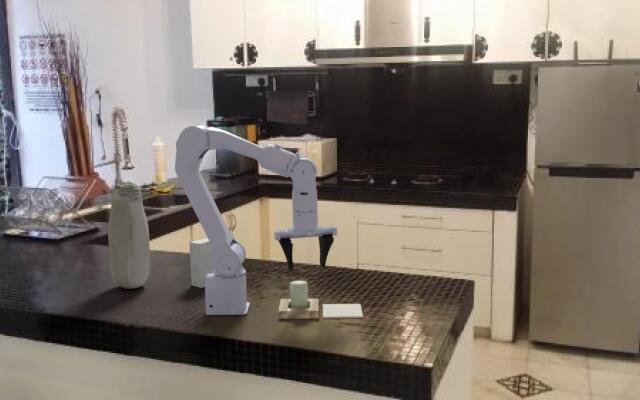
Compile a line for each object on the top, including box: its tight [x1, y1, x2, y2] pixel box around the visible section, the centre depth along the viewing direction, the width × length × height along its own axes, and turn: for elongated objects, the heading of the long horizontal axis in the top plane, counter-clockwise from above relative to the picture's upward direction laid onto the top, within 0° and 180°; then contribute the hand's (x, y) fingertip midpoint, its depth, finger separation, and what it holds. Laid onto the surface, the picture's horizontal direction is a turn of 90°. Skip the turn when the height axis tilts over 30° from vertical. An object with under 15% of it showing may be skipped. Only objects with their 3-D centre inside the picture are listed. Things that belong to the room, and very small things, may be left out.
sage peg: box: [289, 280, 309, 308], centre depth 154 cm, size 4×4×7 cm
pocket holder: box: [278, 298, 320, 320], centre depth 154 cm, size 9×9×2 cm
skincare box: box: [189, 237, 215, 289], centre depth 177 cm, size 6×4×12 cm
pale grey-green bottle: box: [107, 181, 151, 290], centre depth 174 cm, size 10×10×28 cm
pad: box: [322, 303, 364, 319], centre depth 155 cm, size 9×9×1 cm
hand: (306, 267), depth 155 cm, fingers open, 7 cm apart
